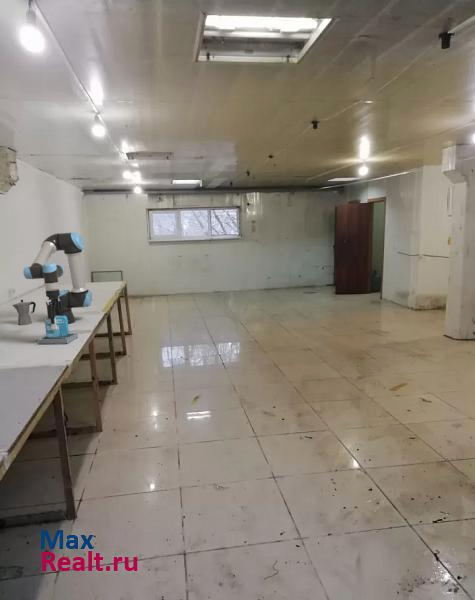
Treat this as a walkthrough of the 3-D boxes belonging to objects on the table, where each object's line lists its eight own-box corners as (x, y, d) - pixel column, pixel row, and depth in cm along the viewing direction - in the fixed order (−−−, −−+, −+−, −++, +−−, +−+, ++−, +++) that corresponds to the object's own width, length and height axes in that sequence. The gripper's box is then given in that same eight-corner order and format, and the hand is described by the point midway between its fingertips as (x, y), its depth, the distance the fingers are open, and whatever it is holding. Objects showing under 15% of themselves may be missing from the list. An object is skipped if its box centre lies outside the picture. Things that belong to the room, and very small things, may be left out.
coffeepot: (15, 326, 302) (12, 301, 299) (14, 324, 310) (11, 299, 307) (39, 323, 310) (35, 298, 307) (37, 320, 318) (34, 297, 315)
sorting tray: (50, 338, 264) (50, 333, 263) (77, 337, 262) (77, 333, 261) (38, 344, 250) (38, 339, 250) (67, 344, 249) (66, 339, 248)
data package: (46, 338, 252) (44, 318, 250) (48, 336, 257) (46, 316, 255) (67, 336, 254) (65, 316, 252) (69, 334, 259) (67, 315, 257)
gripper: (54, 287, 260) (58, 324, 264) (37, 292, 242) (42, 331, 246) (65, 287, 259) (70, 323, 263) (50, 292, 241) (55, 331, 245)
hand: (57, 327), depth 255 cm, fingers closed on data package, 5 cm apart
